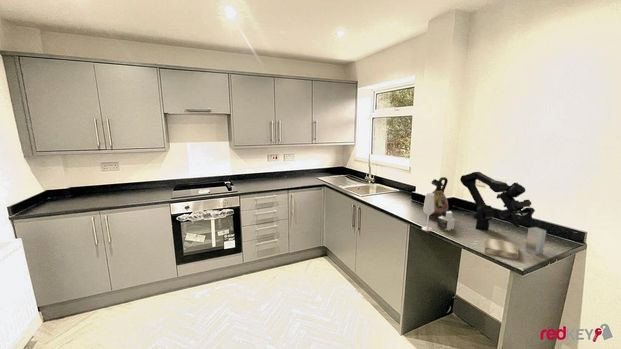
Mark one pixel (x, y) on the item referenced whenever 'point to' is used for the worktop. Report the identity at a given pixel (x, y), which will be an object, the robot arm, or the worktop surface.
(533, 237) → the block
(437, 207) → the ceramic jug
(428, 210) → the champagne flute
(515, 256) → the shallow cream tray
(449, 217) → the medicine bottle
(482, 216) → the robot arm
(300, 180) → the worktop surface
